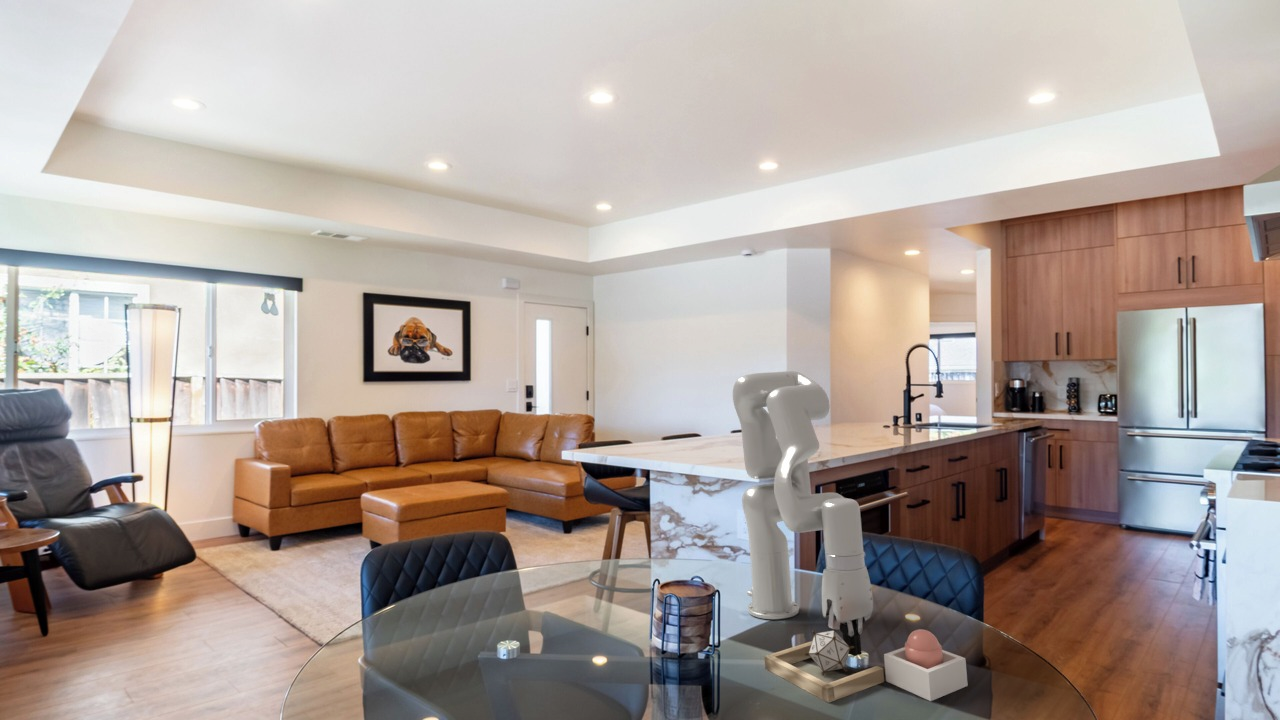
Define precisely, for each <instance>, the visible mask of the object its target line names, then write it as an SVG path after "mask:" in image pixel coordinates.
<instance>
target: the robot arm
mask: <svg viewBox="0 0 1280 720" xmlns="http://www.w3.org/2000/svg"><path fill="white" fill-rule="evenodd" d="M732 402H733V406H734V409H735V413H736V415H737V417H738V420H739V423H740V428H741V439H742V440H741V441H742V450H743V451H742V452H743V459H744V460H743V461H744V466H745V470H746V473H747V475H748V477H750V478H751V479H754V480H767V479H774V481H773V482H772V483H765V484H758V485H757V484H756V485H753V486H751V487H749V488H748V489H747V490H745V491H744V493H743V495H742V498H741V499H742V500H741V501H742V504H741V505H742V509H743V514H744V516H745V517H744V518H745V521H746V527H747V533H748V542H749V543H748V545H749V556H750V557H749V558H750V568H751V569H750V570H751V571H750V572H751V582H752V583H751V584H752V586H751V589H749V590H747V592H746V594H747V596H749V597H750V598H751V603H749V604H748V605H747V612H748V613H749V614H750V615H751V616H753V617H756V618H759V619H765V620H784V619H789V618H793V617H795V616H796V615H797V614H799V612H800V607H799V604H798V603H796V602H795V601H793V594H792V581H791V579H792V578H791V568H790V566H791V565H790V555H789V553H790V552H789V543H788V539H787V536H786V535H785V533H784V532H783V531H782V530H781V528H779V526H778V524H777V523H780V522H781V523H782V522H783V523H784V525H785V527H787V529H788V530H789V531H791V532H794V533H798V534H799V533H807V532H815V531H816V532H817V531H821V530H822V532H823V534H822V535H823V545H824V546H823V547H824V555H825V557H824V558H825V568H824V569H823V572H822V579H821V611H822V616H823V618H825V619H828V624H827V627H828V628H829V629H832V630H833V629H836V630H838V631H839V633H841V634H842V639H843V640H844V641H845V642H846V643H847V644H848V646H849V647H850V646H854V648H853V649H851V648H850V650H849V653H848V655H851V656H853V657H856V656H859V655H862V652H863V651H862V643H861V634H862V632H863V626H864V624H865V622H866V621H868V620H869V619H870V618H872V613H873V610H874V601H873V600H874V599H873V590H872V585H871V580H870V576H869V575H870V574H869V572H868V569H867V565H865V564H866V563H865V558H866V552H865V551H864V546H863V545H864V541H863V530H862V517H861V509H860V505H859V502H858V501H857V500H856V499H852V498H847V497H845V496H843V495H842V494H839V493H838V492H832V491H831V492H822V493H812V489H811V479H810V477H811V476H810V468H809V460H808V459H810V458H811V457H812V456H814V455H815V454H816V453H817V452H818V451H819V449H820V442H819V439H818V437H817V434H816V432H815V428H814V425H813V423H812V421H819V420H823V419H825V418H826V417H827V416H828V415H829V411H830V401H829V397H828V395H827V392H826V391H825V390H824V388H823V387H822V386H821V385H820V384H819V383H818V382H816V381H815V380H812V379H811V378H809V377H807V376H806V375H805V374H803V373H801V372H798V371H793V370H792V371H791V370H789V371H786V370H785V371H776V372H775V371H774V372H773V371H771V372H769V371H768V372H758V373H757V372H756V373H751V374H745V375H742V376H741V377H739V378H738V379H736V381H735V382H734V384H733V388H732ZM765 407H766V408H767V410H766V409H765Z"/></svg>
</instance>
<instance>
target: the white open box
mask: <svg viewBox="0 0 1280 720" xmlns="http://www.w3.org/2000/svg"><path fill="white" fill-rule="evenodd" d="M942 656H943V663H942V664H940V665H937V666H934V667H932V668H929V669H926V668H923V667H921V666H918V665H916V664H913V663H911V662H908V661H906V653H905V646H904V647H901V648H898V649H895V650H893V651H890V652H887V653H884V654H883V661H884V672H885V681H886V682H887V683H889V684H892V685H894V686H896V687H899V688H901V689H902V690H905V691H907V692H909V693H911V694H914V695H916V696H918V697H920V698H922V699H925V700H927V701H929V702H932V701H933V702H934V701H935V700H937V699H939V698H941V697H943V696H947V695H949V694H951V693H954V692H957V691H959V690H961V689H963V688H965V687H968V674H967V672H968V671H967V662H966V657H963V656H961V655H958V654H955V653H952V652H949V651H947V650H944V649H942Z"/></svg>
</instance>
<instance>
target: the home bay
mask: <svg viewBox="0 0 1280 720" xmlns="http://www.w3.org/2000/svg"><path fill="white" fill-rule="evenodd" d="M811 643H812V640H811V641H808V642H805V643H802V644H799V645H796V646H793V647H790V648H786V649H783V650H780V651H777V652H773V653H769V654H767V655H765V656H764V655H763V656H764V669H765V670H767V671H769V672H771V673H772V674H774V675H776V676H778V677H780V678H782V679H783V680H785V681H787V682H790V683H791V684H793V685H795V686H796V687H798V688H800V689H802V690H804V691H806V692H808V693H810V694H811V695H813V696H815V697H816V698H819V699H820V700H823V701H824V702H826V703H828V704H830V703H832V702H835V701H837V700H839V699H842V698H845V697H847V696H850V695H853V694H856V693H858V692H859V693H860V692H861V691H864V690H866V689H869V688H871V687H874V686H876V685H880V684H883V683H884V682H885V678H884V677H885V676H884V668H883V667H881V666H878V665H875V666H872V667H870V668H867V669H864V670H861V671H859V672H856V673H852V674H850V675H848V676H845V677H842V678H839V679H837V680H834V681H831V682H829V683H828V682H826V681H824V680H821V679H820V678H819V677H816V676H814V675H812V674H810V673H808V672H806V671H804V670H802V669H800V668H798V667H796V666H794V665H792V664H795V663H799V662H802V661H804V660H808V659H812V658H811V657H810V655H807V656H806V655H804V654H805V653H809V650H810V646H811Z"/></svg>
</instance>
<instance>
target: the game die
mask: <svg viewBox="0 0 1280 720" xmlns="http://www.w3.org/2000/svg"><path fill="white" fill-rule="evenodd" d="M836 630H837V629H832V630H826V631H821V632H815V630H813V629H812V630H811V633H812V634H813V637H812V640H811V641H812V643H811V646H810V650H809V653H805V654H804V655H806V656H807V655H810V657H811V658H810V659H812V660H813V662H815V664H816V665H817V666H818V668H820V670H821V671H822V672H821V677H824V676H825V672H831V671H836V670H837V671H838V670H842V669H843V670H842V671H844V672H846V673H848V672H847V671H848V670H847V668H846V667H845V666H846V662H847V659H848V656H849V654H848V653H849V650H850V648H851V649H853V648H854V646H850V647H849V646H848V644H847V643H846V642H845V641H844V640H843V637H841V635H840V634H839V633H838V632H837V631H836Z"/></svg>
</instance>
